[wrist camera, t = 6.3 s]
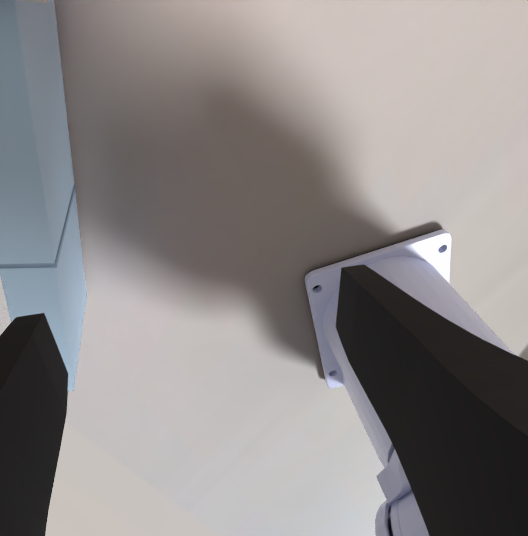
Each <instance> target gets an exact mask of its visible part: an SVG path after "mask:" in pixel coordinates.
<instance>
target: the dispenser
mask: <svg viewBox="0 0 528 536" xmlns="http://www.w3.org/2000/svg"><path fill="white" fill-rule="evenodd" d="M21 1H30V2H39V3H47V2H49V1H50V0H21Z"/></svg>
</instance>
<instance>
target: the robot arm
mask: <svg viewBox="0 0 528 536" xmlns="http://www.w3.org/2000/svg"><path fill="white" fill-rule="evenodd" d="M441 245H443V246H442V247H441V248H439V247H440V246H441ZM438 248H439V249H438ZM450 255H451V235H450V234H449V233H448V232H447V231H446V230H438V231H435V232H432V233H429V234H426V235H422V236H419V237H416V238H413V239H410V240H407V241H404V242H401V243H397V244H394V245H391V246H388V247H385V248H382V249H379V250H376V251H372V252H369V253H366V254H363V255H360V256H357V257H354V258H351V259H348V260H344V261H341V262H338V263H335V264H332V265H329V266H326V267H323V268H319V269H316V270H313V271H311V272H309V273H308V274H307V275H306V277H305V285H306V289H307V294H308V299H309V304H310V309H311V313H312V318H313V323H314V328H315V333H316V337H317V342H318V347H319V352H320V357H321V361H322V366H323V371H324V376H325V381H326V383H327V386H328V387H329V388H336V387H339V386H342V385H345V387H346V389H347V391H348V394H349V396H350V398H351V400H352V402H353V404H354V406H355V408H356V411H357V413H358V415H359V417H360V419H361V421H362V423H363V425H364V428H365V430H366V432H367V434H368V436H369V438H370V440H371V442H372V445H373V447H374V449H375V451H376V453H377V455H378V457H379V459H380V461H381V463H382V464H383V466H384V467H385V468H384V469H383V470H382V471H381V472H380V473H379V474H378V475H377V479H378V481H379V484H380V486H381V488H382V490H383V493H384V495H385V497H386V499H387V500H386V501H385V502H384V503H383V504H382V505H381V506H380V507H379V509H378V511H377V515H376V520H375V533H376V536H528V361H527V360H524V359H523V358H520V357H518V356H516V355H514V353H513V352H512V351H511V350H510V349H509V348H508V347H507V346H506V345H505V344H504V343H503V341H502V340H501V339H500V338H499V337H498V336H497V335H496V334H495V333H494V332H493V331H492V329H491V328H490V327H489V326H488V325H487V324H486V323H485V322H484V321H483V320H482V319H481V318H480V316H479V315H478V314H477V313H476V312H475V311H474V310H473V309H472V308H471V307H470V306H469V304H468V303H467V302H466V301H465V300H464V299H463V298H462V297H461V296H460V295H459V294H458V292H457V291H456V290H455V289H454V288H453V287H452V286H451V285H450V284H449V275H450ZM316 285H319V286H318V287H317V288H315V289H313V288H314V287H315V286H316ZM67 395H68V372H67V369H66V366H65V364H64V361H63V359H62V356H61V354H60V351H59V349H58V346H57V344H56V341H55V339H54V336H53V334H52V331H51V329H50V326H49V324H48V321H47V319H46V316H45V314H44V313H40V314H33V315H27V316H20V317H16V318H15V319H14V320H13V321H12V322H11V323H10V325H9V326H8V327H7V328H6V330H5V331H4V332H3V333H2V334H1V336H0V536H45V531H46V523H47V516H48V509H49V503H50V498H51V493H52V488H53V482H54V477H55V472H56V467H57V461H58V456H59V451H60V446H61V440H62V434H63V429H64V424H65V418H66V411H67Z"/></svg>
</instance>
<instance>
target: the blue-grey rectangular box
mask: <svg viewBox="0 0 528 536" xmlns="http://www.w3.org/2000/svg"><path fill="white" fill-rule="evenodd" d="M75 190H76V183H74V175H73V166H72V157H71V148H70V139H69V130H68V121H67V112H66V103H65V94H64V85H63V76H62V67H61V58H60V49H59V40H58V31H57V22H56V13H55V4H54V0H50V1H49V2H47V3H39V2H30V1H21V0H0V276H1V280H2V285H3V289H4V293H5V297H6V302H7V306H8V310H9V314H10V318H11V322H12V321H13V320H14V319H15V318H16V317H20V316H27V315H33V314H40V313H44V314H45V316H46V319H47V321H48V324H49V326H50V329H51V331H52V334H53V336H54V339H55V341H56V344H57V346H58V349H59V351H60V354H61V356H62V359H63V361H64V364H65V366H66V369H67V372H68V391H74V386H75V379H76V372H77V364H78V357H79V350H80V342H81V335H82V327H83V320H84V313H85V305H86V298H87V293H86V284H85V275H84V266H83V257H82V247H81V238H80V229H79V220H78V211H77V202H76V193H75Z"/></svg>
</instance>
